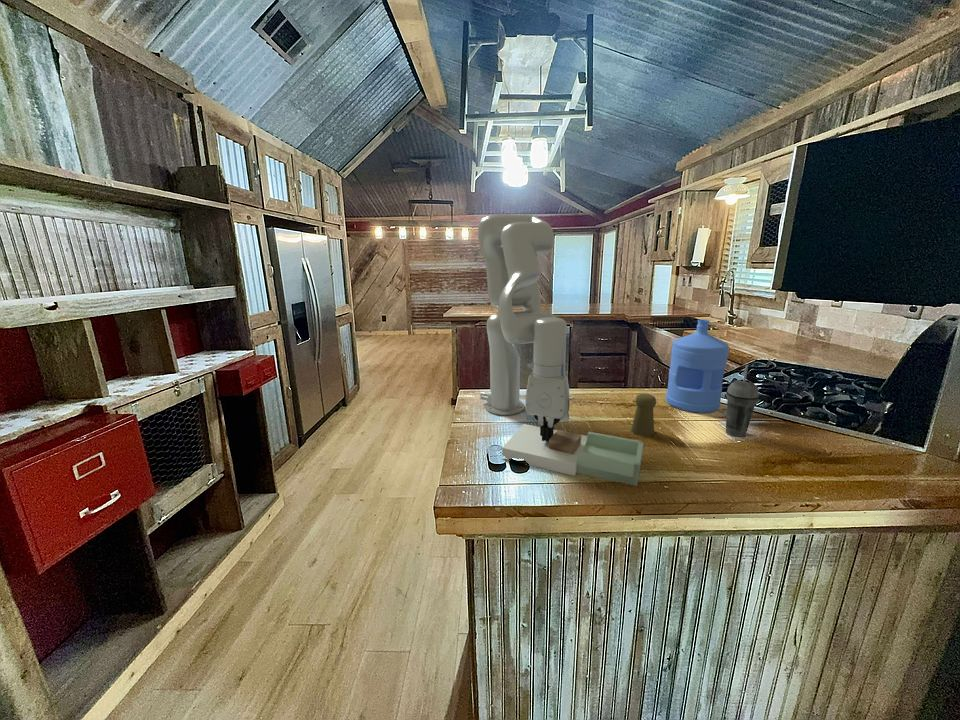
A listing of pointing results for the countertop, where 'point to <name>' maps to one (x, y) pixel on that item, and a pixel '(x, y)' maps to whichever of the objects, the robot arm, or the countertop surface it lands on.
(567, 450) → the walnut tile
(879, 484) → the countertop surface
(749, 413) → the beverage cup
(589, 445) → the box
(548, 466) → the white flat slab
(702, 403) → the water jug
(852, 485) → the countertop surface
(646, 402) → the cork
